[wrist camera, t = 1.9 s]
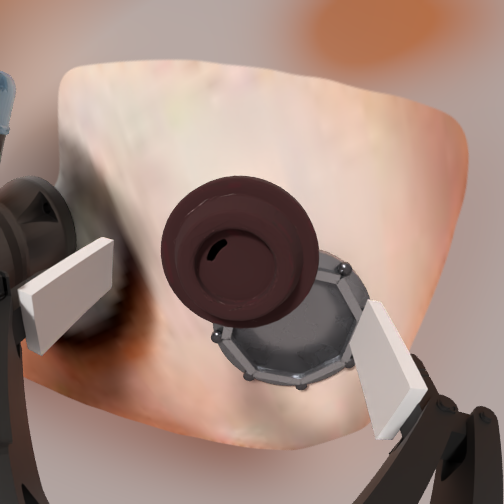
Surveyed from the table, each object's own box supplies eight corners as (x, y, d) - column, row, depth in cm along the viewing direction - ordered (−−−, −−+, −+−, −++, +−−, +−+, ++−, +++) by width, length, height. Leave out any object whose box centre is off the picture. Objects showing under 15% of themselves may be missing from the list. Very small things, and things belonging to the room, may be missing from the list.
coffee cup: (312, 247, 33) (337, 323, 18) (222, 269, 34) (186, 354, 20) (287, 153, 30) (298, 158, 16) (192, 181, 31) (127, 211, 17)
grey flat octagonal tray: (205, 363, 39) (201, 374, 37) (230, 228, 33) (227, 234, 31) (338, 388, 39) (340, 399, 36) (391, 266, 33) (398, 274, 31)
